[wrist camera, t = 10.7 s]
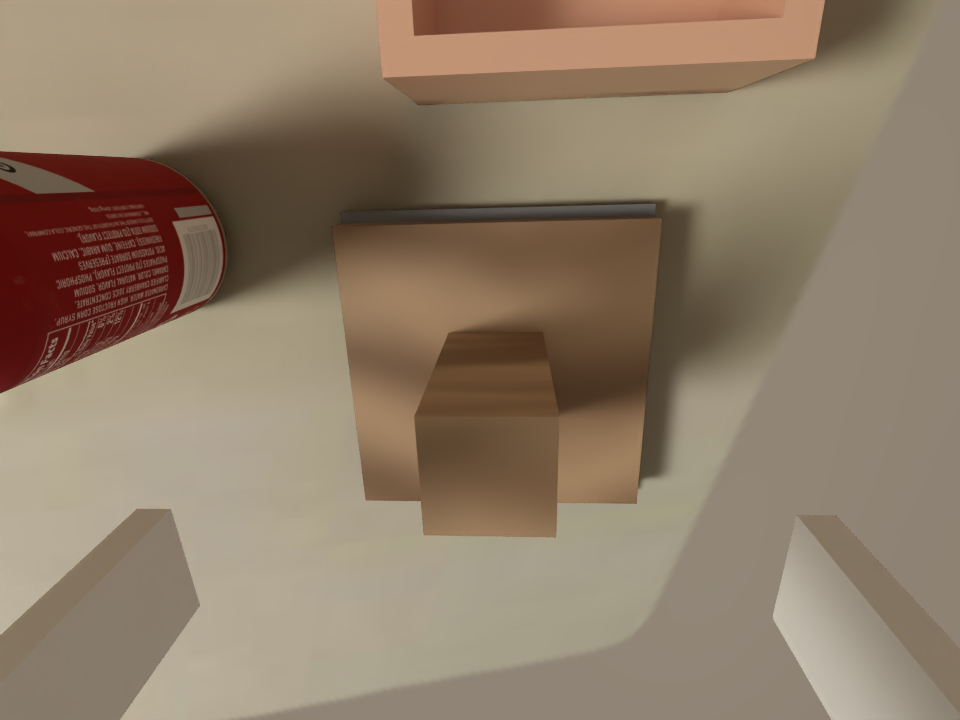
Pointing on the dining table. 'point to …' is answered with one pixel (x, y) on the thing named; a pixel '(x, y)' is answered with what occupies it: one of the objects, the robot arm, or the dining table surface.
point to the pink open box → (588, 47)
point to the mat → (499, 213)
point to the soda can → (97, 256)
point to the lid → (499, 364)
